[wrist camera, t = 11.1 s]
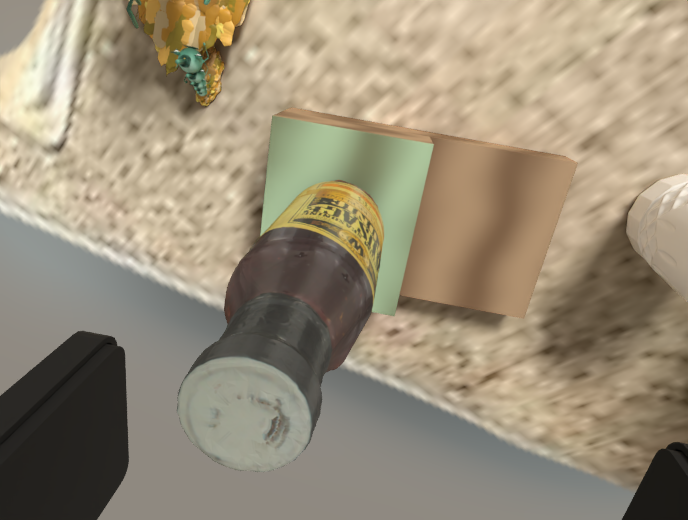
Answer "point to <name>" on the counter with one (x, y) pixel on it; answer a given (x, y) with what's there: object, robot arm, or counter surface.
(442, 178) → the stand
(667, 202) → the white cup
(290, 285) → the sauce bottle
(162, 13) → the teal toy figure
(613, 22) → the counter surface
